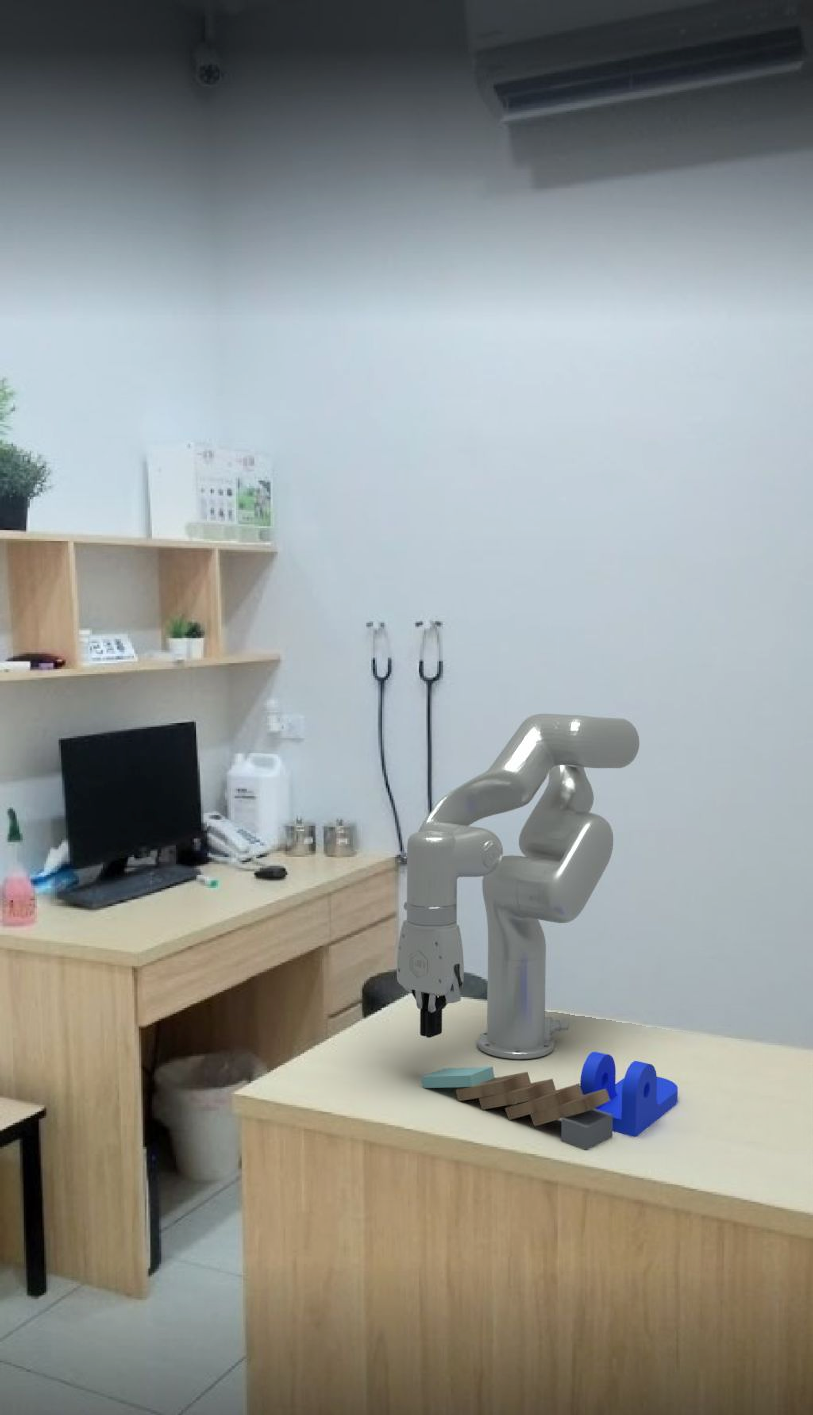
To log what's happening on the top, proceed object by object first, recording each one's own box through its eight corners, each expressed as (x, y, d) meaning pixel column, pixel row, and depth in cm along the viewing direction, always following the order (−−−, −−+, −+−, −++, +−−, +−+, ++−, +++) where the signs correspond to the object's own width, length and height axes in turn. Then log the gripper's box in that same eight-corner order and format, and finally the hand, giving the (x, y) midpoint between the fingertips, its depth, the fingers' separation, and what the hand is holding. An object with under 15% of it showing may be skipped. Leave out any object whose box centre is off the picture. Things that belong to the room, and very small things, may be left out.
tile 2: (477, 1081, 169) (527, 1071, 162) (480, 1092, 169) (530, 1082, 162) (455, 1089, 165) (505, 1080, 159) (458, 1101, 165) (508, 1092, 159)
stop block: (587, 1127, 156) (588, 1106, 156) (612, 1136, 153) (612, 1114, 153) (561, 1140, 152) (561, 1118, 152) (586, 1149, 149) (586, 1127, 149)
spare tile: (443, 1068, 174) (492, 1066, 167) (445, 1079, 174) (494, 1077, 167) (421, 1076, 170) (470, 1075, 164) (423, 1087, 170) (472, 1086, 163)
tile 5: (552, 1104, 159) (606, 1088, 153) (556, 1115, 159) (610, 1100, 153) (530, 1114, 156) (584, 1098, 150) (534, 1125, 155) (588, 1110, 149)
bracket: (635, 1138, 153) (636, 1072, 153) (579, 1123, 158) (580, 1059, 158) (686, 1097, 168) (687, 1036, 168) (633, 1084, 173) (634, 1025, 172)
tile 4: (527, 1098, 163) (579, 1083, 156) (531, 1109, 162) (583, 1095, 156) (505, 1108, 159) (557, 1092, 153) (509, 1119, 159) (561, 1105, 152)
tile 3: (501, 1088, 166) (552, 1078, 159) (504, 1100, 166) (555, 1090, 159) (478, 1098, 162) (530, 1088, 156) (482, 1109, 162) (533, 1099, 155)
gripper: (378, 910, 174) (378, 1029, 175) (453, 926, 164) (452, 1052, 164) (412, 902, 179) (411, 1018, 180) (486, 918, 169) (485, 1040, 170)
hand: (431, 1034), depth 172 cm, fingers closed
